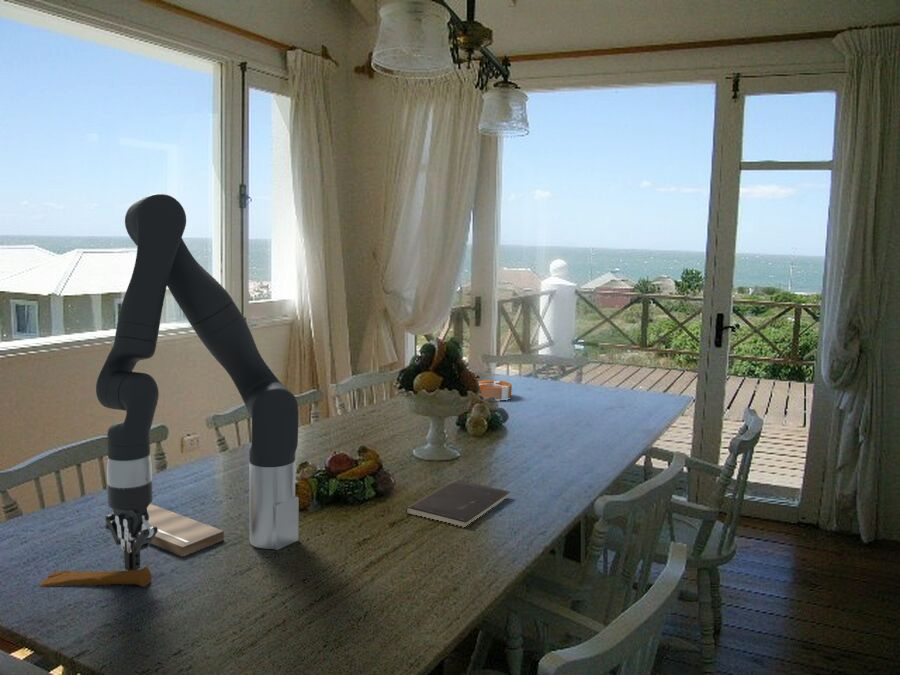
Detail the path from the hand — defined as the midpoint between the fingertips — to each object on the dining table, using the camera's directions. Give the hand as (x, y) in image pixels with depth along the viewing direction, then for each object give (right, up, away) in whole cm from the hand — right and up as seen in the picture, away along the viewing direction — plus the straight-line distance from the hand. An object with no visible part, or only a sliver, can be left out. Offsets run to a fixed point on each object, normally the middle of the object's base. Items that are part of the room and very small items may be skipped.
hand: (132, 569), depth 133 cm
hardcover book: (+61, +2, +40) cm, 73 cm away
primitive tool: (-5, -2, -3) cm, 7 cm away
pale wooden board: (-2, +2, +19) cm, 19 cm away
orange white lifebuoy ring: (+77, +18, +160) cm, 178 cm away
